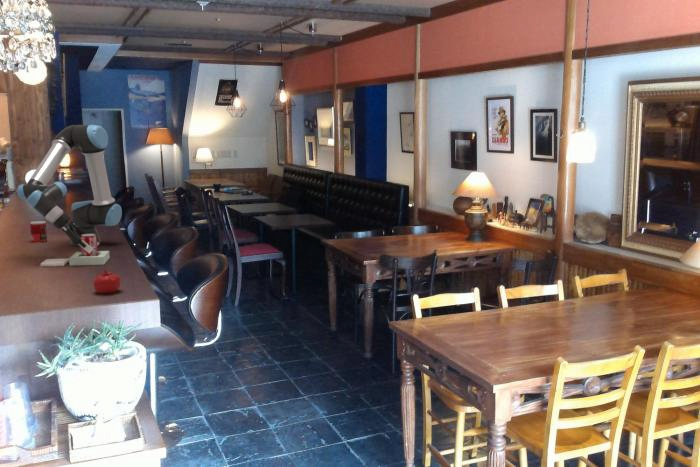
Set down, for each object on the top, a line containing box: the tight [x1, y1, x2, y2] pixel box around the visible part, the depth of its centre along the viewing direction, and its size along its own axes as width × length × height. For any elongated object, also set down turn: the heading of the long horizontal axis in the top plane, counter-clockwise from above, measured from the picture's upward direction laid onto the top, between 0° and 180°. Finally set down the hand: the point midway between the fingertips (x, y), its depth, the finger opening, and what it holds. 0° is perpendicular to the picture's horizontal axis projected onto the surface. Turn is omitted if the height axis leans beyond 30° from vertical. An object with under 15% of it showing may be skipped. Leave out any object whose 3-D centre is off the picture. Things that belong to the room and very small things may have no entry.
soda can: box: [80, 234, 99, 256], centre depth 300 cm, size 7×7×13 cm
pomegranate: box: [92, 268, 122, 295], centre depth 247 cm, size 10×10×9 cm
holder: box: [68, 250, 111, 267], centre depth 301 cm, size 15×15×4 cm
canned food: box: [29, 220, 48, 243], centre depth 350 cm, size 8×8×11 cm
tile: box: [40, 258, 69, 267], centre depth 297 cm, size 10×10×1 cm
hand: (94, 248), depth 301 cm, fingers open, 13 cm apart
